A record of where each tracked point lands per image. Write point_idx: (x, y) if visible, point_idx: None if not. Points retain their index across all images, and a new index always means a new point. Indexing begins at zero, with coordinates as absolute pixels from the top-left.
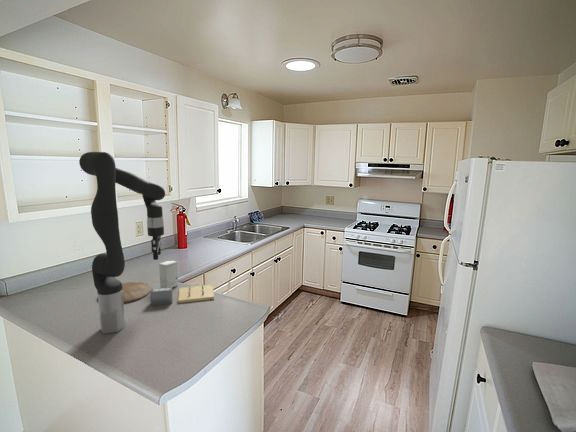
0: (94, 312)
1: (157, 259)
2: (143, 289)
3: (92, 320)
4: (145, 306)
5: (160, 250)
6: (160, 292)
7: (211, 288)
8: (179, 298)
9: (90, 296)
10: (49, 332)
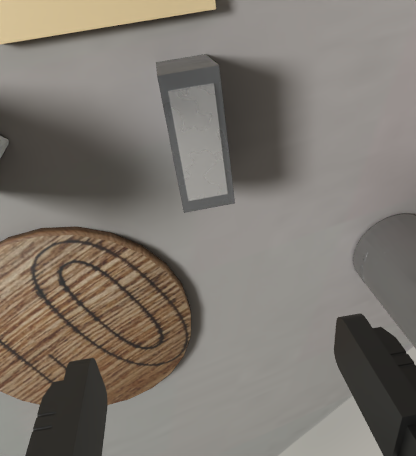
0: (251, 351)
1: (359, 316)
2: (47, 268)
3: (312, 331)
4: None
5: (74, 417)
6: (226, 143)
7: None
8: (185, 5)
9: (110, 417)
10: None
